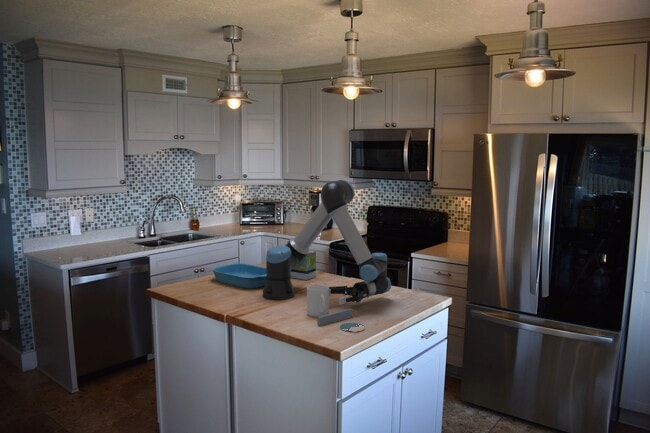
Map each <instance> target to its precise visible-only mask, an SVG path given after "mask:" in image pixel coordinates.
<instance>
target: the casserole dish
mask: <svg viewBox="0 0 650 433" xmlns="http://www.w3.org/2000/svg"><path fill="white" fill-rule="evenodd" d="M212 272H213V275H214V277H215V279H216V280H217V281H218V282H219V283H223V284H226V285H227V284H228V285H231V286H235V287H238V288H239V287H240V288H243V289H255V288H260V287H262V286H265V283H266V267H263V266H259V265H254V264H249V263H241V262H237V263H229V264H228V263H227V264H222V265H217V266H216V267H214V268H212Z"/></svg>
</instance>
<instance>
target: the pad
mask: <svg viewBox="0 0 650 433" xmlns="http://www.w3.org/2000/svg"><path fill="white" fill-rule="evenodd" d="M358 324H359V325H362V326H364V327H365V328H366V326H365V325H363V324H361V323H358V322H357V323H356V322H347V323H342V324H340V326H339V329H340V328H341V329H348V330H346V331H349V329H350V328H351V327H359V325H358ZM356 325H357V326H356ZM341 329H340V330H341ZM346 331H345V332H346Z"/></svg>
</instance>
